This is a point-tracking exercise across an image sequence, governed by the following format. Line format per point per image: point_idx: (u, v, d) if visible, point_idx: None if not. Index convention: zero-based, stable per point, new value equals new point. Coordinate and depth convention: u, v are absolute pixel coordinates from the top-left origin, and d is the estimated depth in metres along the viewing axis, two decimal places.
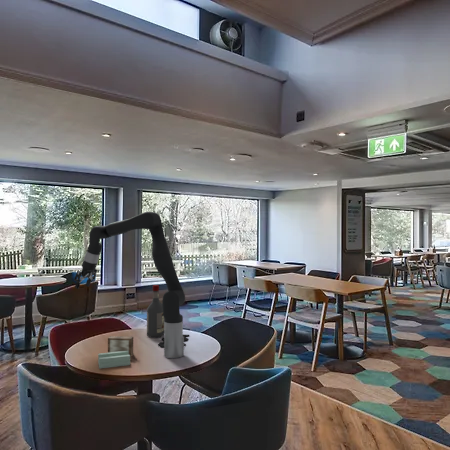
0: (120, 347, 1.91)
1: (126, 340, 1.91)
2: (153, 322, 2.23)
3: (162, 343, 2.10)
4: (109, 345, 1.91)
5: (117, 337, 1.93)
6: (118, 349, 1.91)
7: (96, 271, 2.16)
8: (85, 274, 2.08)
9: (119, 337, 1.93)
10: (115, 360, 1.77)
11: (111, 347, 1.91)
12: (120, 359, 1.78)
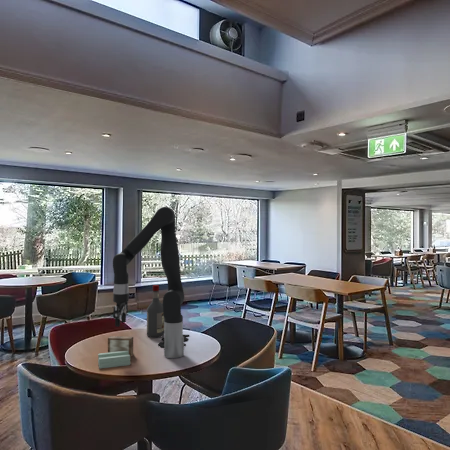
0: (120, 347, 1.91)
1: (126, 340, 1.91)
2: (153, 322, 2.23)
3: (162, 343, 2.10)
4: (109, 345, 1.91)
5: (117, 337, 1.93)
6: (118, 349, 1.91)
7: (127, 303, 1.99)
8: (121, 308, 1.90)
9: (119, 337, 1.93)
10: (115, 360, 1.77)
11: (111, 347, 1.91)
12: (120, 359, 1.78)
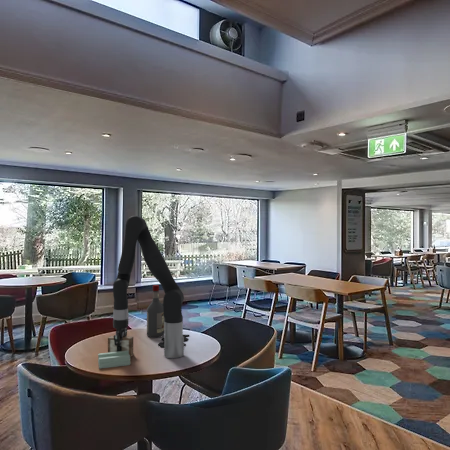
0: None
1: (126, 340, 1.91)
2: (153, 322, 2.23)
3: (162, 343, 2.10)
4: (109, 345, 1.91)
5: None
6: None
7: None
8: (121, 334, 1.91)
9: None
10: (115, 360, 1.77)
11: (111, 346, 1.91)
12: (120, 359, 1.78)
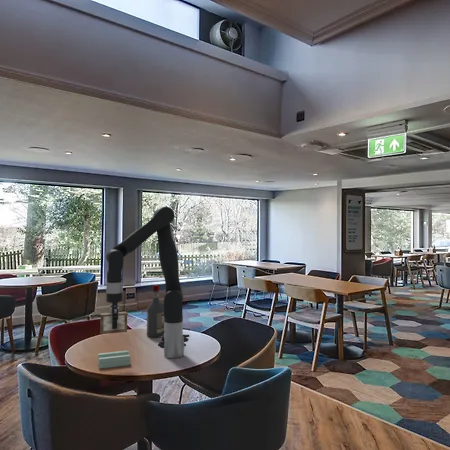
0: None
1: (122, 315, 1.81)
2: (153, 322, 2.23)
3: (162, 343, 2.10)
4: (102, 322, 1.78)
5: (110, 313, 1.80)
6: None
7: None
8: (117, 309, 1.80)
9: None
10: (115, 360, 1.77)
11: (104, 324, 1.78)
12: (120, 359, 1.78)
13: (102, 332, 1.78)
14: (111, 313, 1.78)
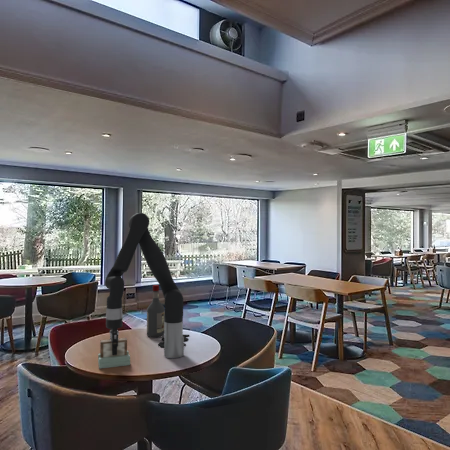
0: None
1: (122, 342, 1.81)
2: (153, 322, 2.23)
3: (162, 343, 2.10)
4: (102, 350, 1.77)
5: (110, 340, 1.80)
6: None
7: None
8: (117, 335, 1.79)
9: None
10: (115, 360, 1.77)
11: (104, 351, 1.78)
12: (120, 359, 1.78)
13: None
14: (111, 339, 1.78)
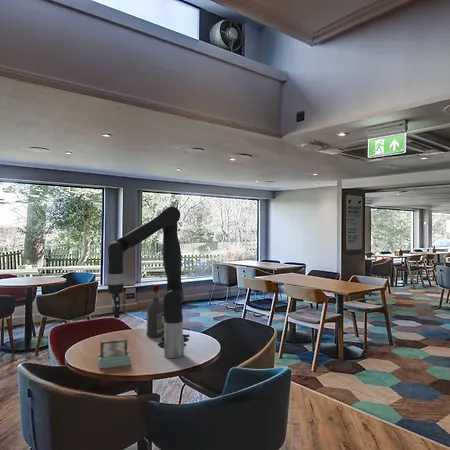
0: (115, 350, 1.79)
1: (122, 342, 1.81)
2: (153, 322, 2.23)
3: (162, 343, 2.10)
4: (102, 350, 1.77)
5: (110, 340, 1.80)
6: (113, 353, 1.79)
7: None
8: None
9: (112, 339, 1.81)
10: (115, 360, 1.77)
11: (104, 351, 1.78)
12: (120, 359, 1.78)
13: None
14: (113, 303, 1.81)
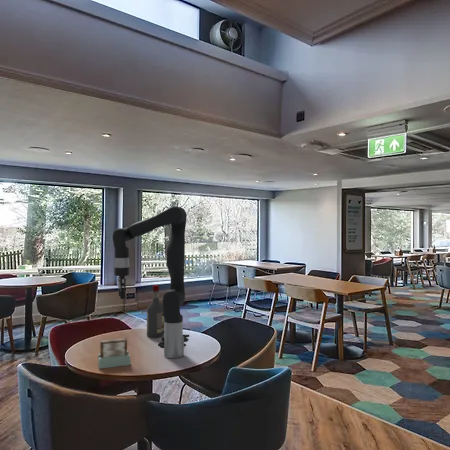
0: (115, 350, 1.79)
1: (122, 342, 1.81)
2: (153, 322, 2.23)
3: (162, 343, 2.10)
4: (102, 350, 1.77)
5: (110, 340, 1.80)
6: (113, 353, 1.79)
7: None
8: None
9: (112, 339, 1.81)
10: (115, 360, 1.77)
11: (104, 351, 1.78)
12: (120, 359, 1.78)
13: None
14: (119, 284, 1.95)
